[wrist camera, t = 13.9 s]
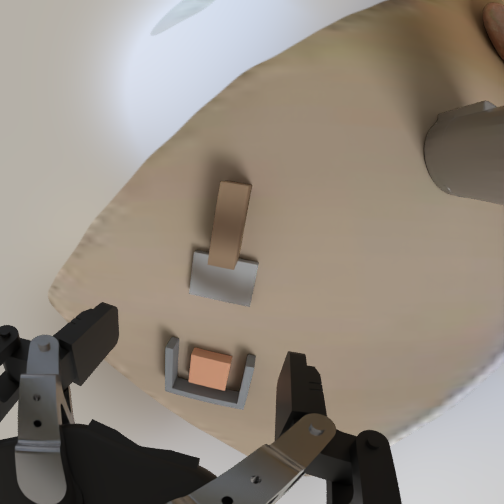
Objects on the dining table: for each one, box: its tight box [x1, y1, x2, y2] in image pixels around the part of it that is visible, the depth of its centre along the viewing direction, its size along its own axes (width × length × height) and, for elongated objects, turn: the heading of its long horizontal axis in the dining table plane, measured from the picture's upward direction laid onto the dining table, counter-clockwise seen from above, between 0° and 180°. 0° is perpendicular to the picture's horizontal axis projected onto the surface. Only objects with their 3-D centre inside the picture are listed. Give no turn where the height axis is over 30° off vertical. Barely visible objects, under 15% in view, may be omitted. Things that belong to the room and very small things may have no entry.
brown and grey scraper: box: [189, 181, 259, 307], centre depth 28 cm, size 13×7×4 cm, turn 169°
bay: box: [165, 337, 256, 410], centre depth 34 cm, size 8×11×2 cm
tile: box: [189, 347, 232, 391], centre depth 34 cm, size 5×5×2 cm
